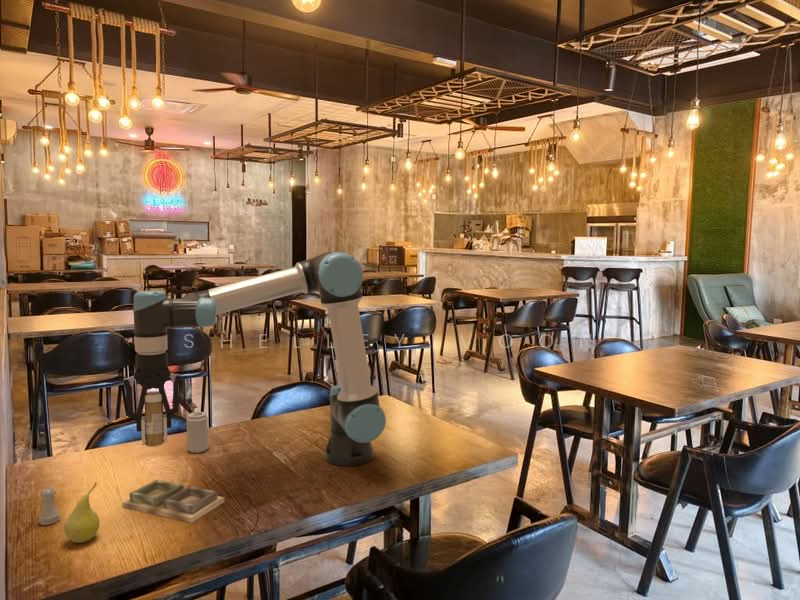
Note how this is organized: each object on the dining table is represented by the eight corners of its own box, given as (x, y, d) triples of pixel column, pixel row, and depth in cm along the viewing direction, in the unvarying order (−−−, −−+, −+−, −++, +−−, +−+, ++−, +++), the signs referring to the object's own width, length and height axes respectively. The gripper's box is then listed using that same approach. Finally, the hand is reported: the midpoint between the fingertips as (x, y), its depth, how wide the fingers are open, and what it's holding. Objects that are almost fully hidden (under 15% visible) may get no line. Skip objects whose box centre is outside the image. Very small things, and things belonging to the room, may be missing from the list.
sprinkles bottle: (142, 444, 144) (140, 392, 143) (160, 440, 148) (159, 389, 146) (149, 448, 141) (147, 396, 140) (167, 444, 144) (165, 393, 143)
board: (224, 501, 145) (224, 489, 145) (191, 522, 134) (191, 509, 134) (158, 488, 153) (158, 476, 153) (122, 507, 142) (121, 494, 142)
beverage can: (211, 447, 185) (210, 411, 184) (203, 454, 178) (202, 417, 177) (193, 446, 185) (192, 410, 184) (183, 453, 179) (182, 416, 178)
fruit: (58, 544, 124) (55, 492, 123) (87, 529, 131) (85, 479, 130) (80, 550, 122) (77, 497, 121) (109, 534, 129) (107, 483, 128)
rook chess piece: (45, 517, 137) (43, 485, 136) (64, 516, 137) (62, 485, 136) (34, 526, 132) (32, 493, 131) (54, 525, 133) (52, 493, 132)
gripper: (187, 347, 149) (190, 433, 151) (113, 351, 142) (117, 441, 144) (189, 352, 142) (192, 442, 144) (111, 357, 135) (115, 451, 137)
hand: (154, 441), depth 144 cm, fingers closed on sprinkles bottle, 4 cm apart
